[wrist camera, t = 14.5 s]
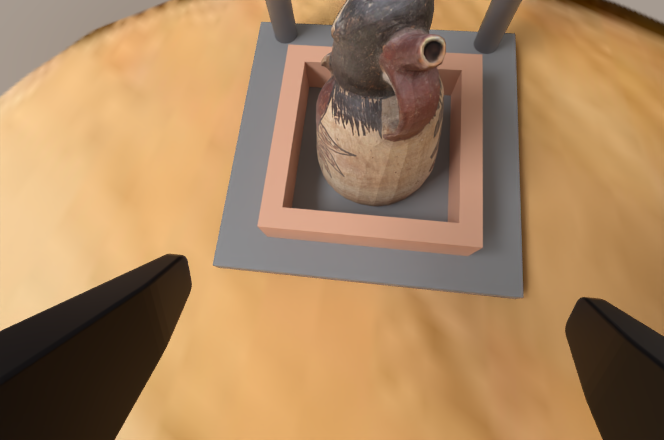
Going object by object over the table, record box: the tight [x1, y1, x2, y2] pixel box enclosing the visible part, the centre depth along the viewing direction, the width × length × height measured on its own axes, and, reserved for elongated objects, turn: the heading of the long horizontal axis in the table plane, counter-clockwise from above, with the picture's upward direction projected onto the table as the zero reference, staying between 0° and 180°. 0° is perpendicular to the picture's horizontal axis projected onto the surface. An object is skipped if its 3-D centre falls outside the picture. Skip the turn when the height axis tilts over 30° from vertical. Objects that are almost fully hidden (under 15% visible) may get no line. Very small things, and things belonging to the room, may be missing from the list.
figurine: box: [316, 0, 446, 206], centre depth 17 cm, size 7×7×12 cm
